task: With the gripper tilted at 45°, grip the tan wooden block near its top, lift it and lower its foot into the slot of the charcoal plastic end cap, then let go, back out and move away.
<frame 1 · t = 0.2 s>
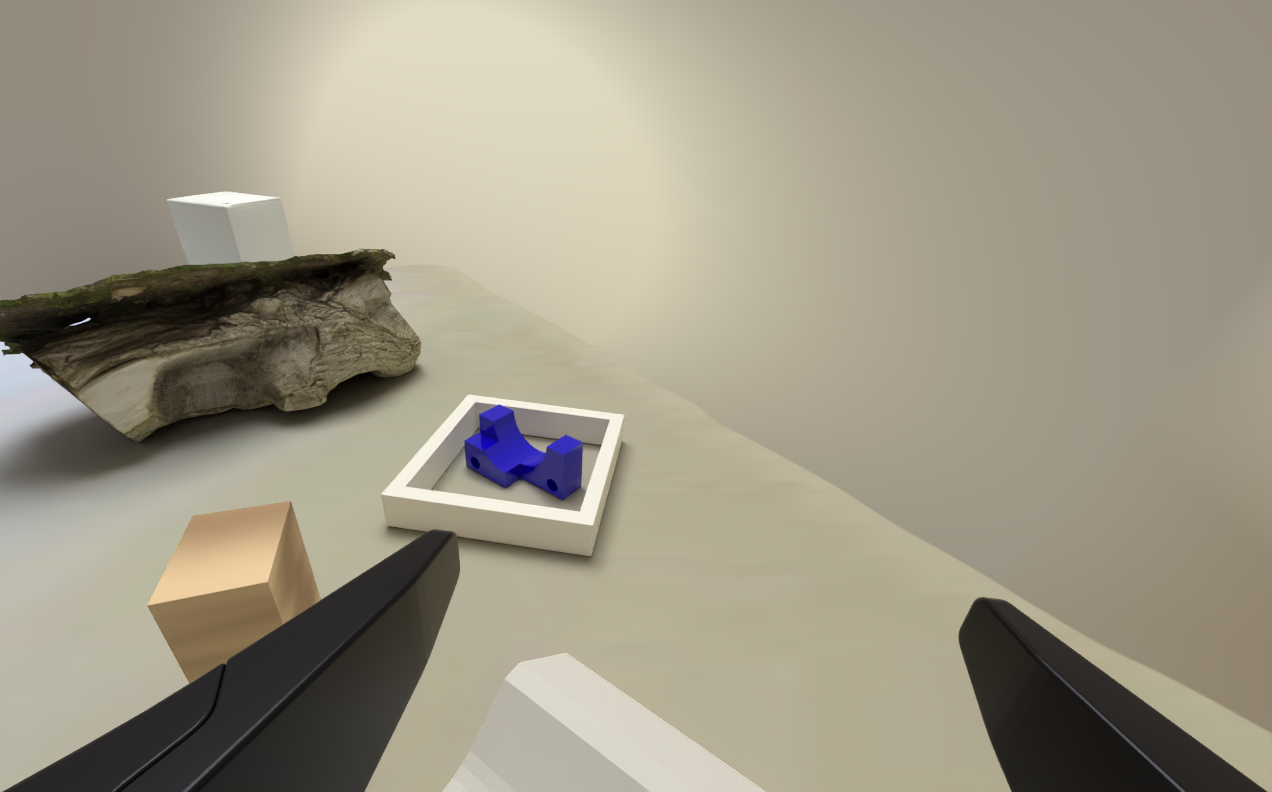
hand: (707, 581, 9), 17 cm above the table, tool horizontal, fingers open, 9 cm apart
supplement box: (258, 311, 62), on the table
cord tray: (521, 477, 38), on the table
tan wooden block: (297, 719, 22), on the table
hollow geode rock: (262, 399, 45), on the table
cable holder: (523, 480, 38), resting in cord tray
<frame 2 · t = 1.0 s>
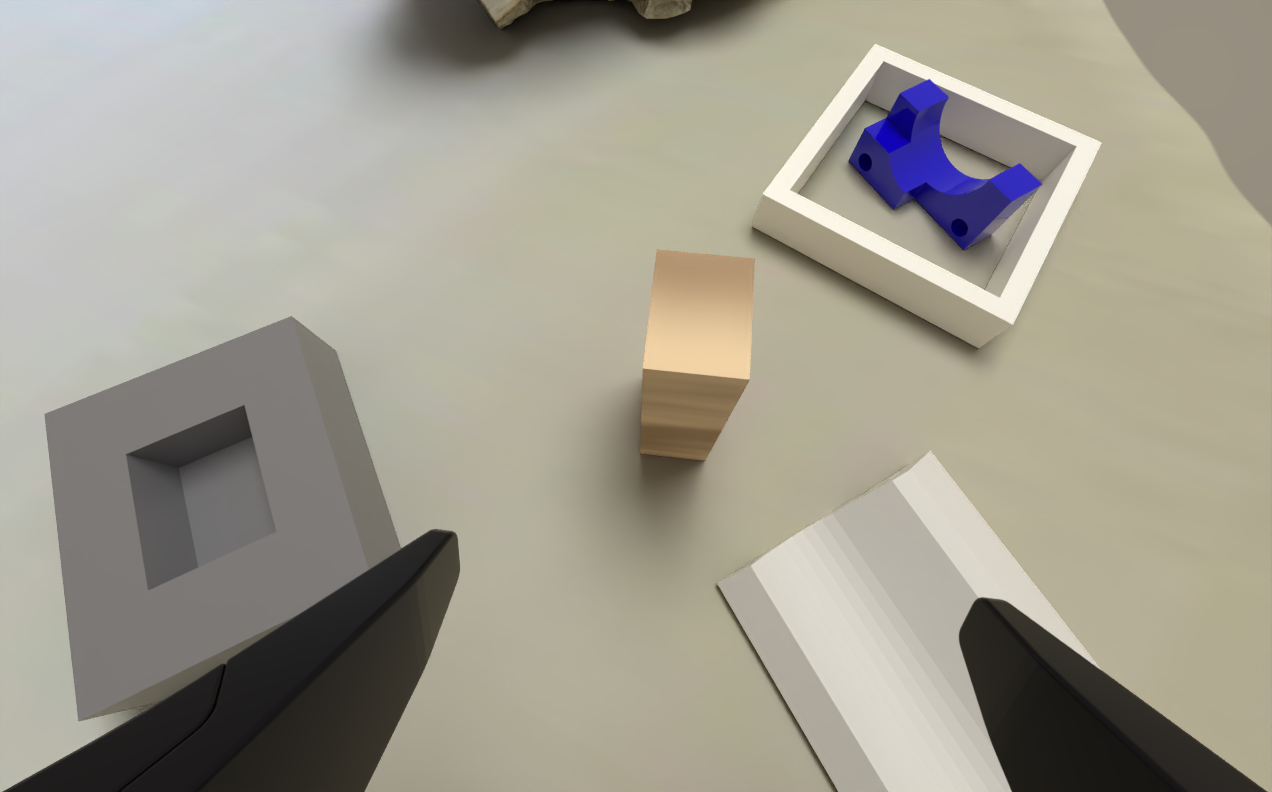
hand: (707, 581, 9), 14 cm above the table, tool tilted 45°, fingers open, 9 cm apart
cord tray: (911, 201, 29), on the table
tan wooden block: (676, 416, 25), on the table
cable holder: (913, 202, 29), resting in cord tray
end cap: (261, 505, 23), on the table
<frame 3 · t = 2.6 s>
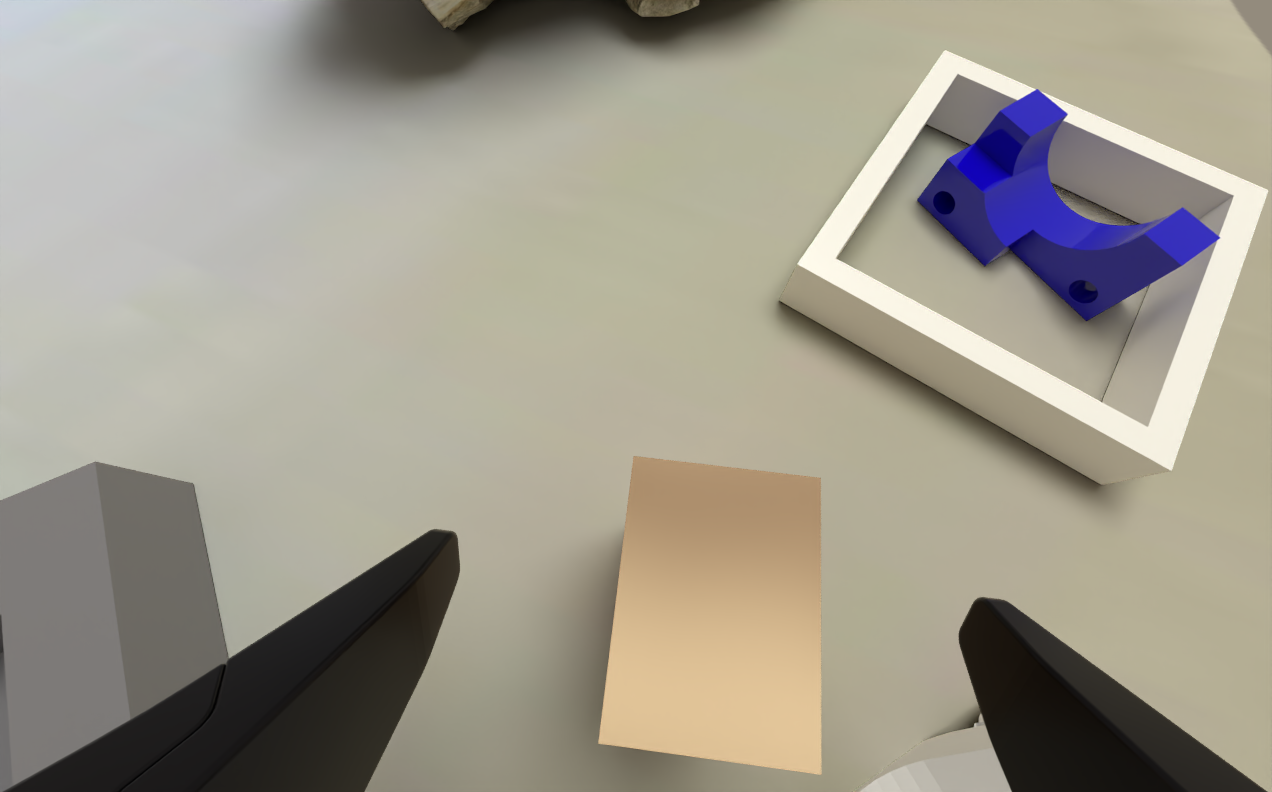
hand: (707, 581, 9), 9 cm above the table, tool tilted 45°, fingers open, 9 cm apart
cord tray: (995, 265, 21), on the table
tan wooden block: (672, 590, 17), on the table
cable holder: (1008, 252, 22), resting in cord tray
end cap: (59, 734, 16), on the table
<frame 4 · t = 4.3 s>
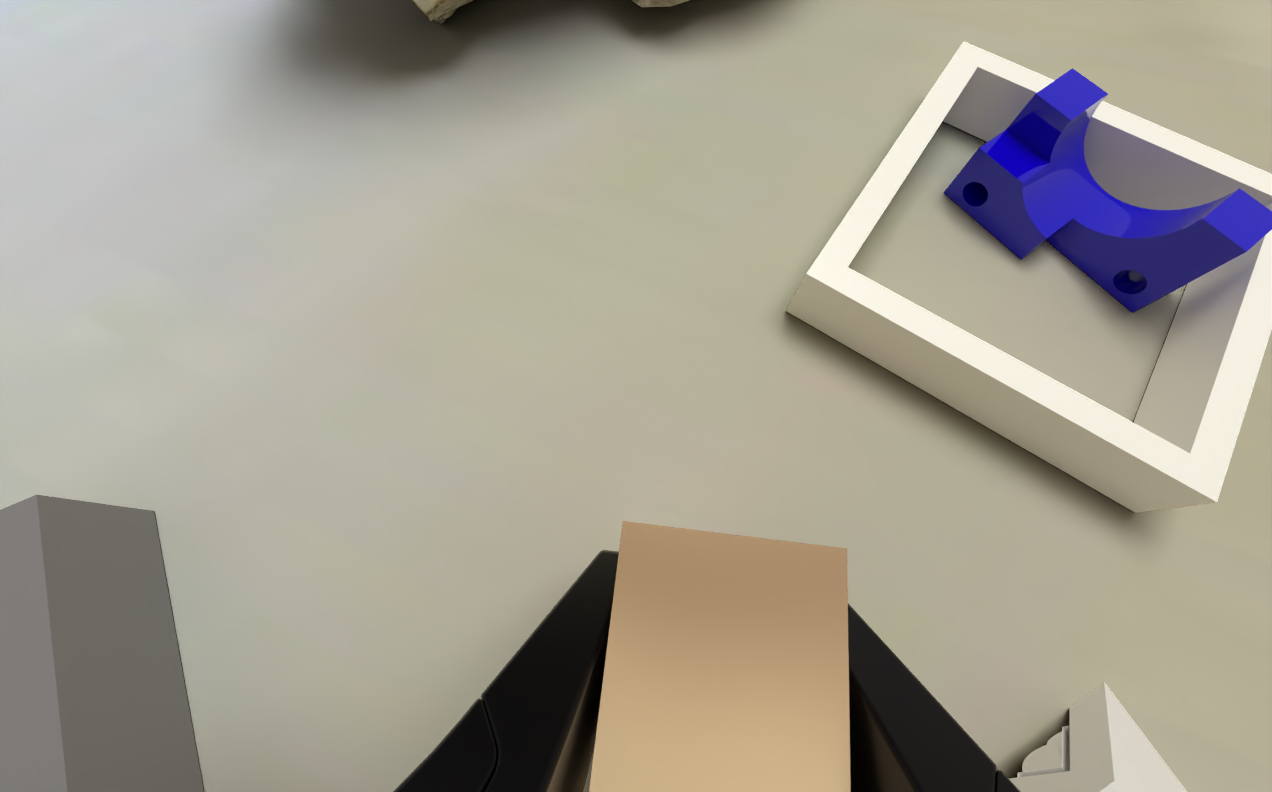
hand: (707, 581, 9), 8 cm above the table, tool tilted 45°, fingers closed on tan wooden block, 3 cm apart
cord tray: (1017, 273, 20), on the table
tan wooden block: (671, 628, 16), on the table, touching gripper
cable holder: (1043, 243, 21), resting in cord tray
end cap: (2, 789, 14), on the table
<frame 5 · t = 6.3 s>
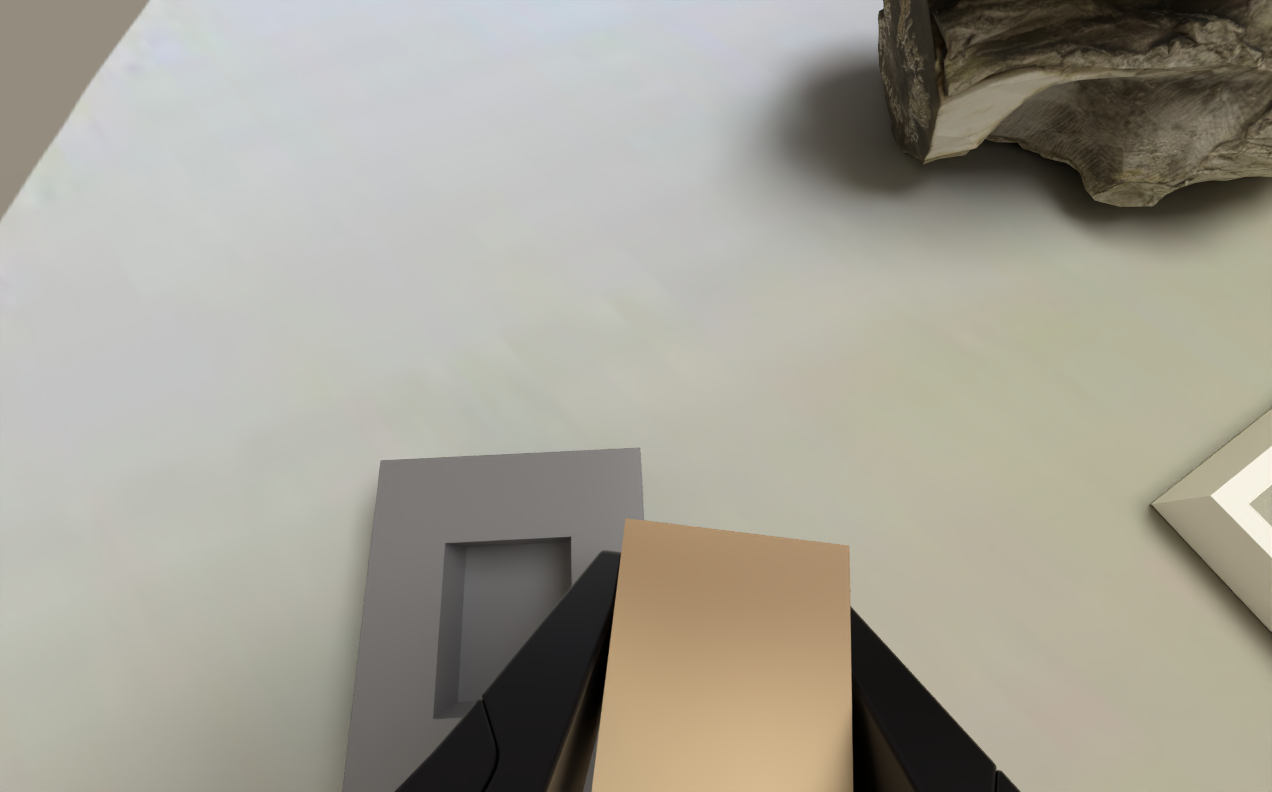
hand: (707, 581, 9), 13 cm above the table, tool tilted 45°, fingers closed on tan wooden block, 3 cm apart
tan wooden block: (673, 626, 16), point 6 cm above the table, touching gripper
hollow geode rock: (1038, 128, 30), on the table
end cap: (526, 615, 21), on the table
when the fingers open (10 cm above the table, at t = 8.4 s): tan wooden block stays where it is, resting on end cap.
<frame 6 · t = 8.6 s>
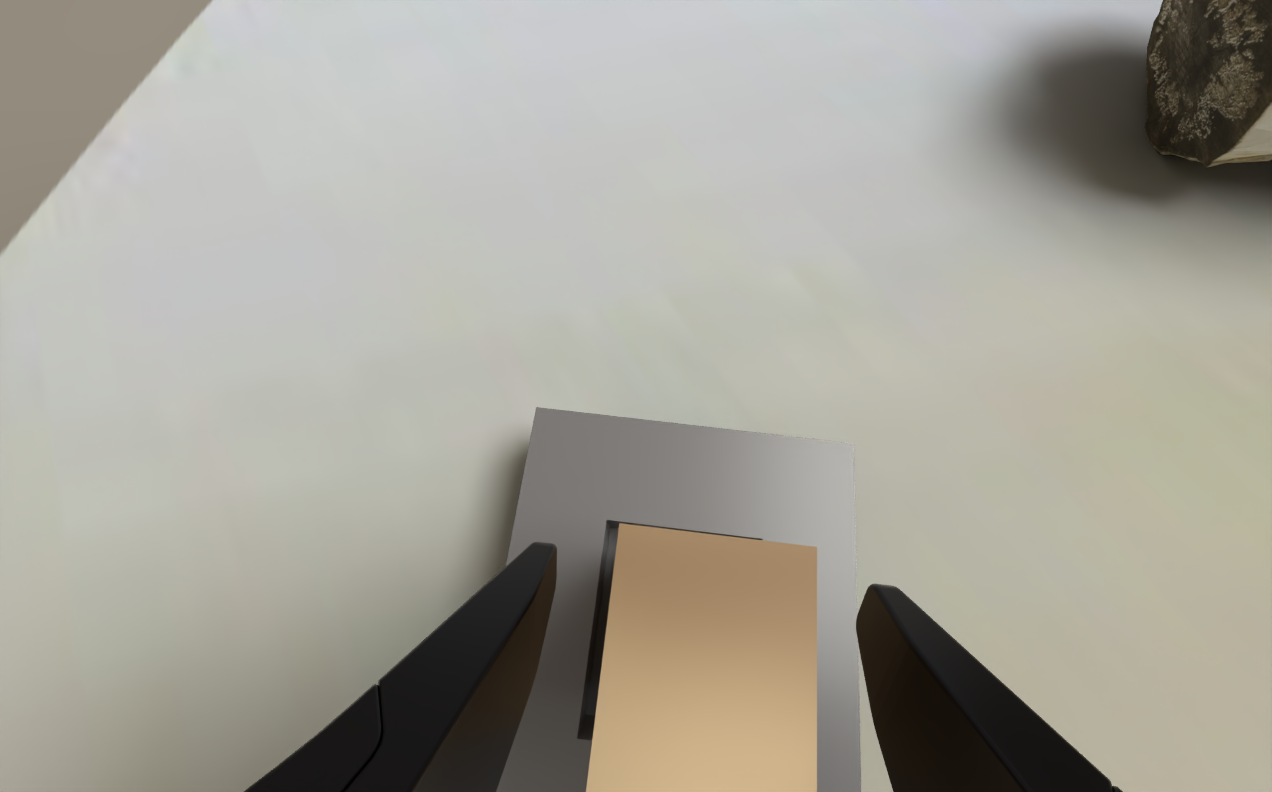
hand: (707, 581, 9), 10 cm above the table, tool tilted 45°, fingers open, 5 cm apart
tan wooden block: (669, 623, 17), point 1 cm above the table, touching end cap
end cap: (667, 622, 18), on the table
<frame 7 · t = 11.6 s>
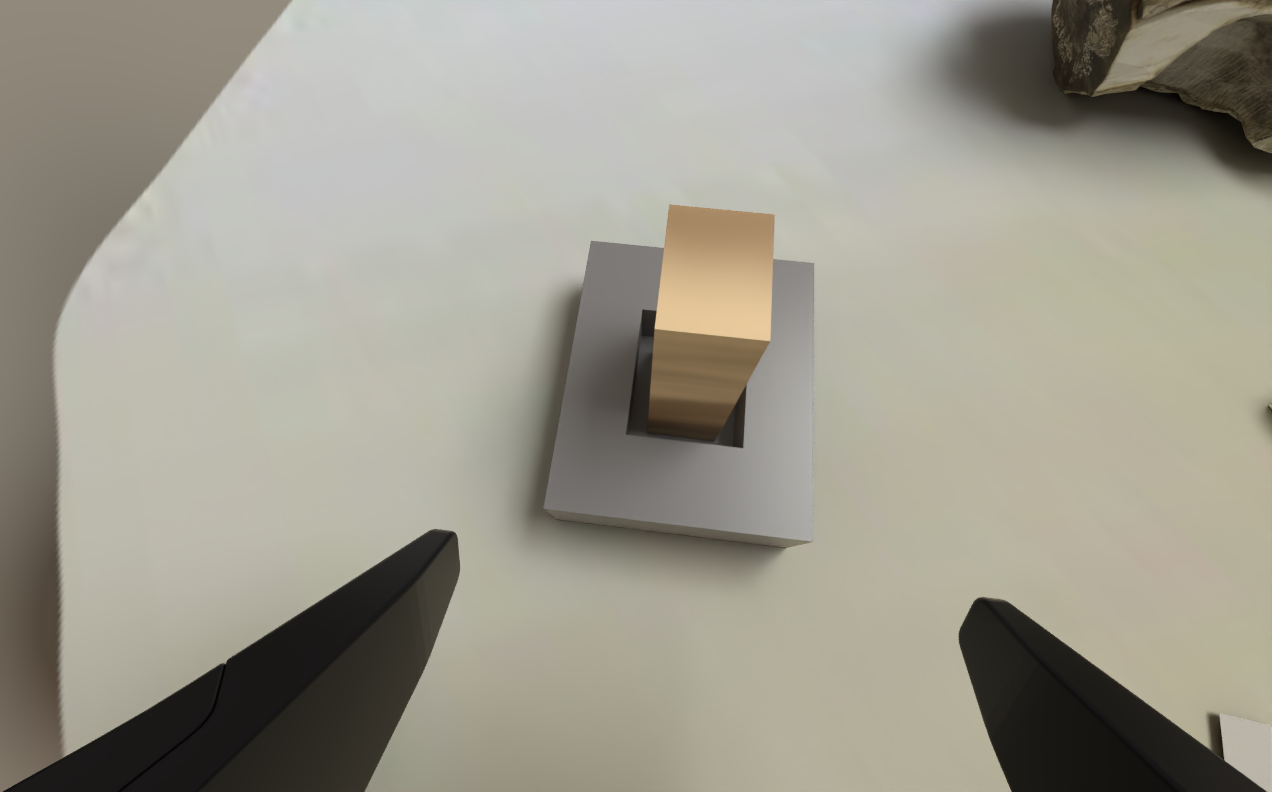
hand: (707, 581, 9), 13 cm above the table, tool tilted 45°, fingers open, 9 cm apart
tan wooden block: (684, 394, 23), point 1 cm above the table, touching end cap
hollow geode rock: (1196, 87, 32), on the table
end cap: (683, 403, 24), on the table
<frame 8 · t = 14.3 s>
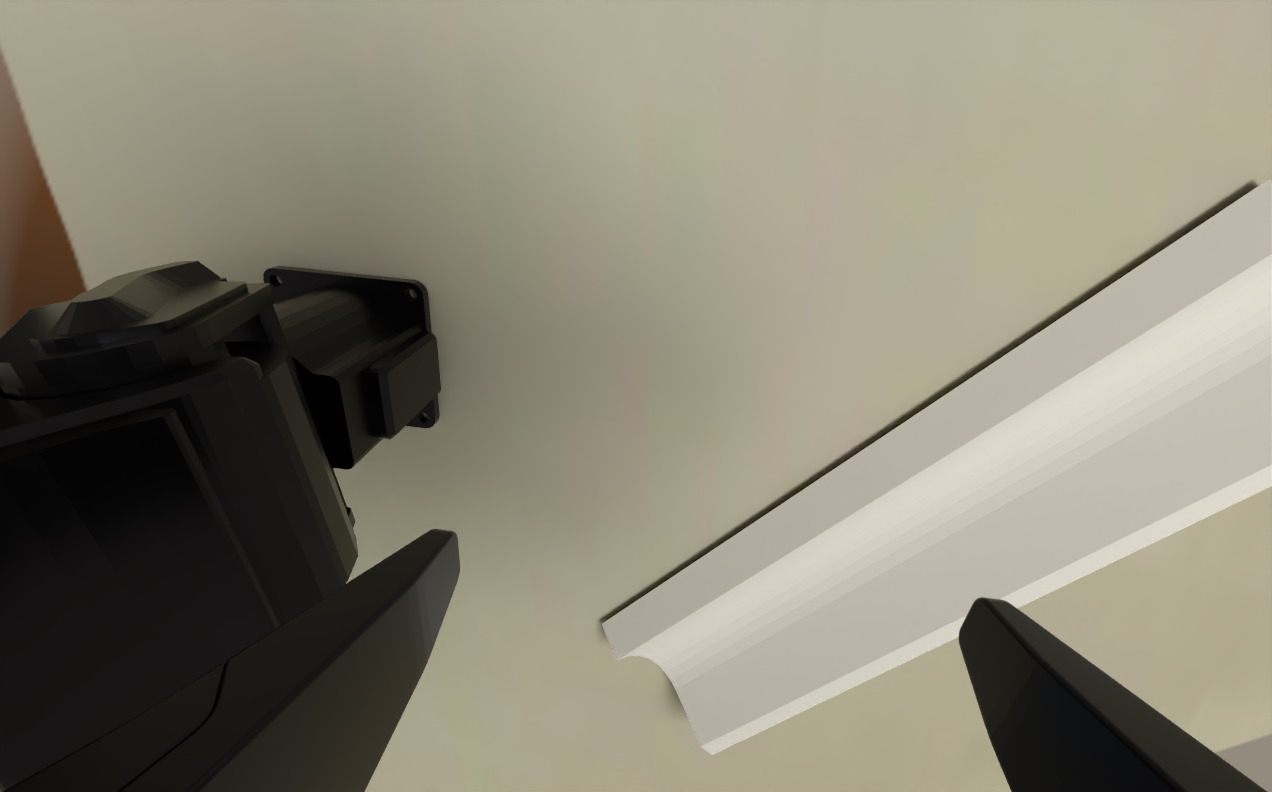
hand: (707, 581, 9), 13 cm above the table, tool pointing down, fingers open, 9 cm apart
crown molding: (919, 525, 25), on the table
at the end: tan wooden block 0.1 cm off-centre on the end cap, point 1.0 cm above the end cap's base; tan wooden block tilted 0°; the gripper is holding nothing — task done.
